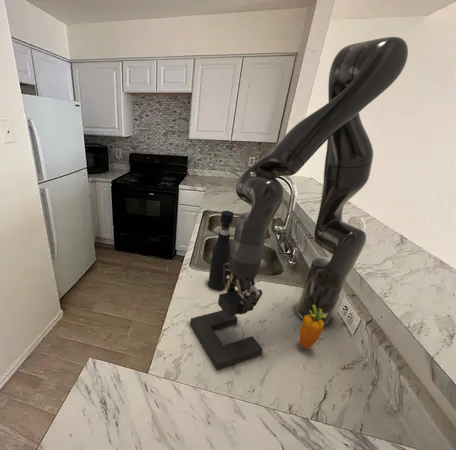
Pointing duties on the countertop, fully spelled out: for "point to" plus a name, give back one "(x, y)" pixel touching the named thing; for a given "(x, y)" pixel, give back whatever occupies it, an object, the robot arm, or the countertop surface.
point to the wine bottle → (220, 253)
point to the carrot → (311, 328)
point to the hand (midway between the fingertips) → (235, 305)
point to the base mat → (215, 348)
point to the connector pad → (231, 303)
